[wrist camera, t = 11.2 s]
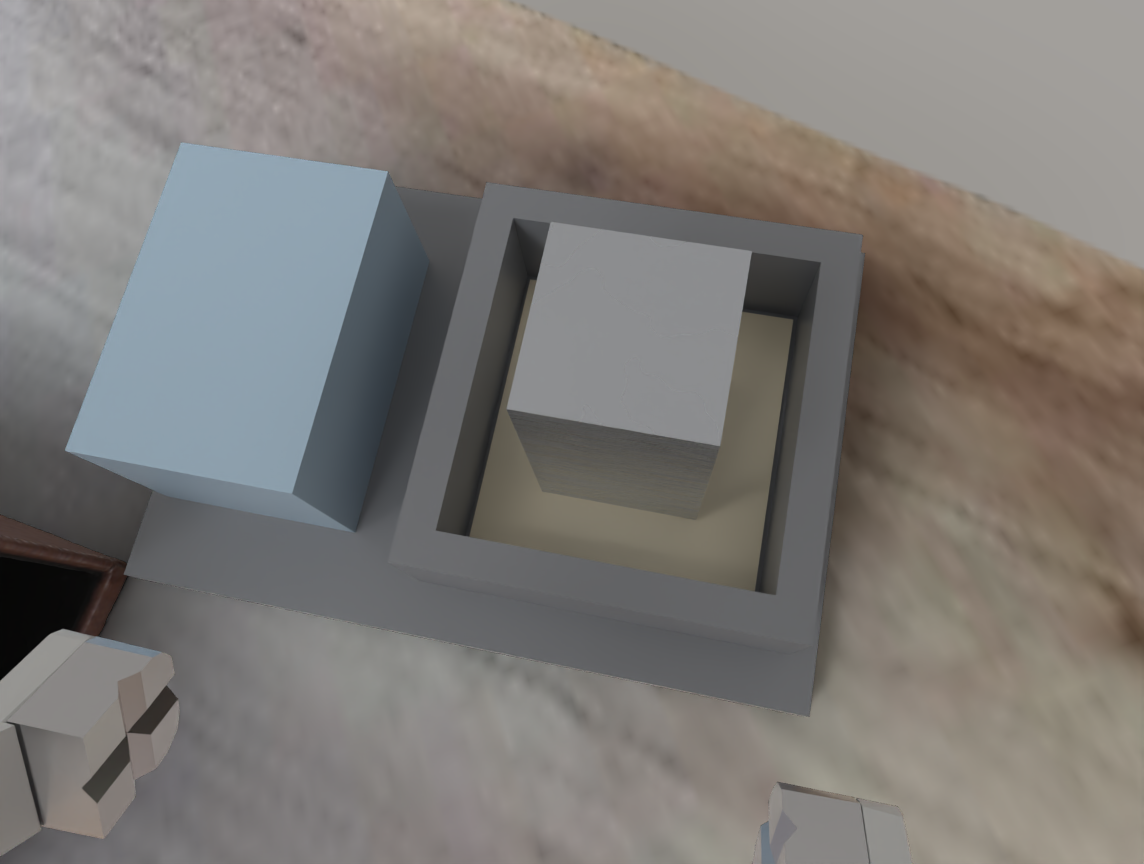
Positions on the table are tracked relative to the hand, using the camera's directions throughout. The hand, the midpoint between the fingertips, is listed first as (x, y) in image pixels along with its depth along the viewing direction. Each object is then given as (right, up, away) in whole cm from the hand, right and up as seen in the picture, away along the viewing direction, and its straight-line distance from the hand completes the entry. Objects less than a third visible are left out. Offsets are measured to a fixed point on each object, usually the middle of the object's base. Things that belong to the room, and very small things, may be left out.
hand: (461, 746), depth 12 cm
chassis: (-1, +4, +16) cm, 17 cm away
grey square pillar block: (+3, +4, +14) cm, 15 cm away
